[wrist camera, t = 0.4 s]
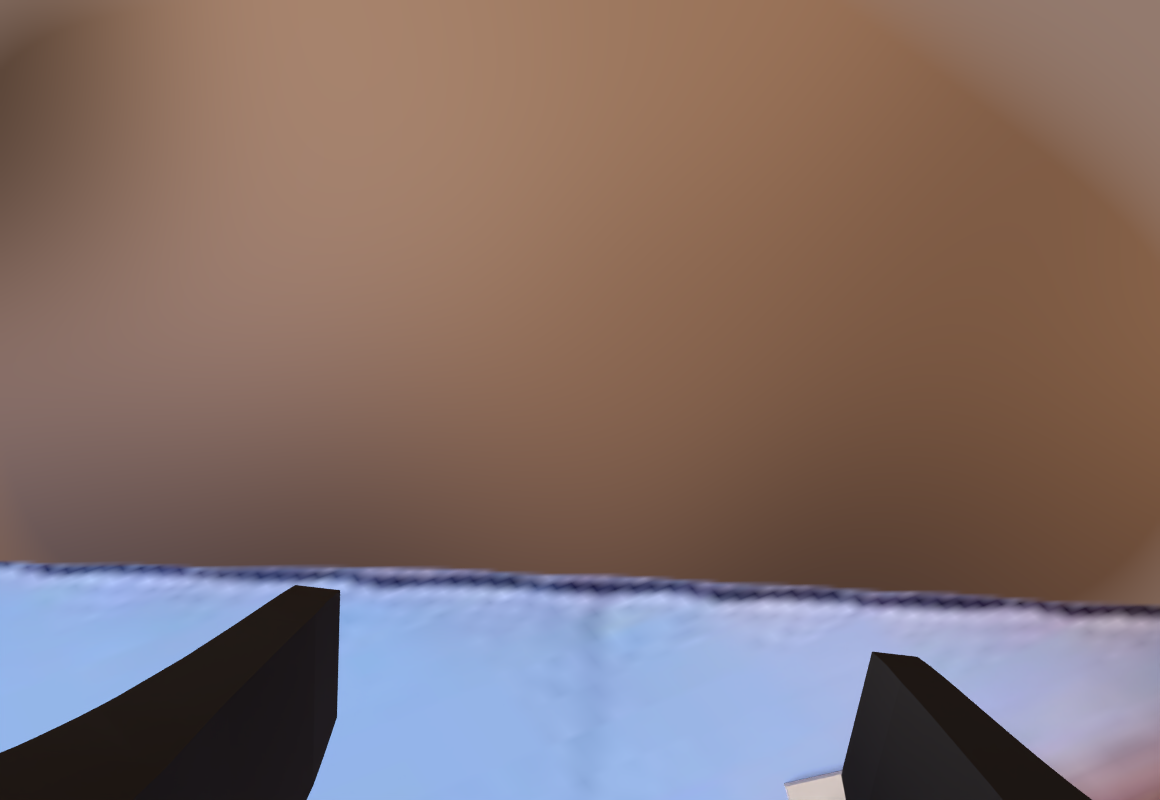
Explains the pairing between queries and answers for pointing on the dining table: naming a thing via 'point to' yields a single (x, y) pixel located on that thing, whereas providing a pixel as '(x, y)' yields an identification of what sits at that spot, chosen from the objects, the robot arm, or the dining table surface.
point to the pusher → (817, 788)
